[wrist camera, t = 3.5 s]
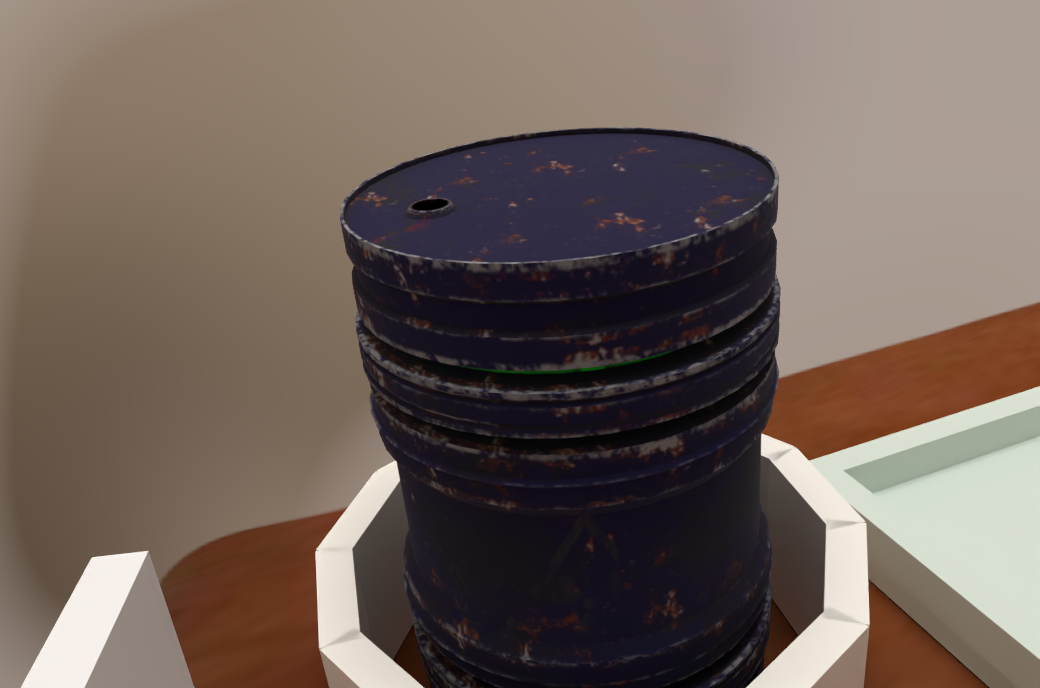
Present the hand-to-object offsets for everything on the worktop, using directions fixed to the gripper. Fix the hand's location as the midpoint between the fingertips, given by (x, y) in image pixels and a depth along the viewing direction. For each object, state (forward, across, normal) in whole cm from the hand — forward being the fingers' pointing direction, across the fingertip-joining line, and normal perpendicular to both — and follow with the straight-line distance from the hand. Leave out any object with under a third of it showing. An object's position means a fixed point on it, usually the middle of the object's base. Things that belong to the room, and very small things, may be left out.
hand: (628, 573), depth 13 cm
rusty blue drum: (+10, 0, -12) cm, 16 cm away
